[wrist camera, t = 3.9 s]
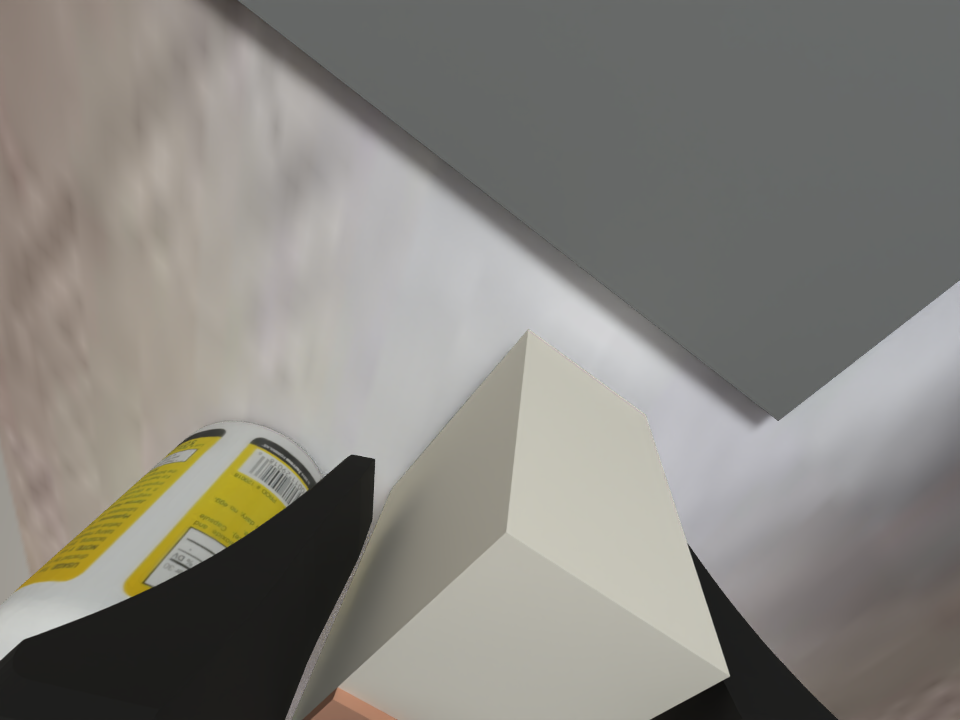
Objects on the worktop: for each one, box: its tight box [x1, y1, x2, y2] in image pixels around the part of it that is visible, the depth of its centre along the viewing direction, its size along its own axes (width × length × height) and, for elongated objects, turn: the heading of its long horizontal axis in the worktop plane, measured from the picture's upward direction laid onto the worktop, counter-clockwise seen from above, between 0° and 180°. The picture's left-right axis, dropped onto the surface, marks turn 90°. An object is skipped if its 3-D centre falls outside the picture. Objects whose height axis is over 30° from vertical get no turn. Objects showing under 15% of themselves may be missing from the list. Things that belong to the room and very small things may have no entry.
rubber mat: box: [238, 0, 960, 421], centre depth 10 cm, size 20×9×1 cm, turn 54°
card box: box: [292, 329, 730, 720], centre depth 11 cm, size 4×7×7 cm, turn 145°
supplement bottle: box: [0, 421, 323, 660], centre depth 13 cm, size 5×5×10 cm
